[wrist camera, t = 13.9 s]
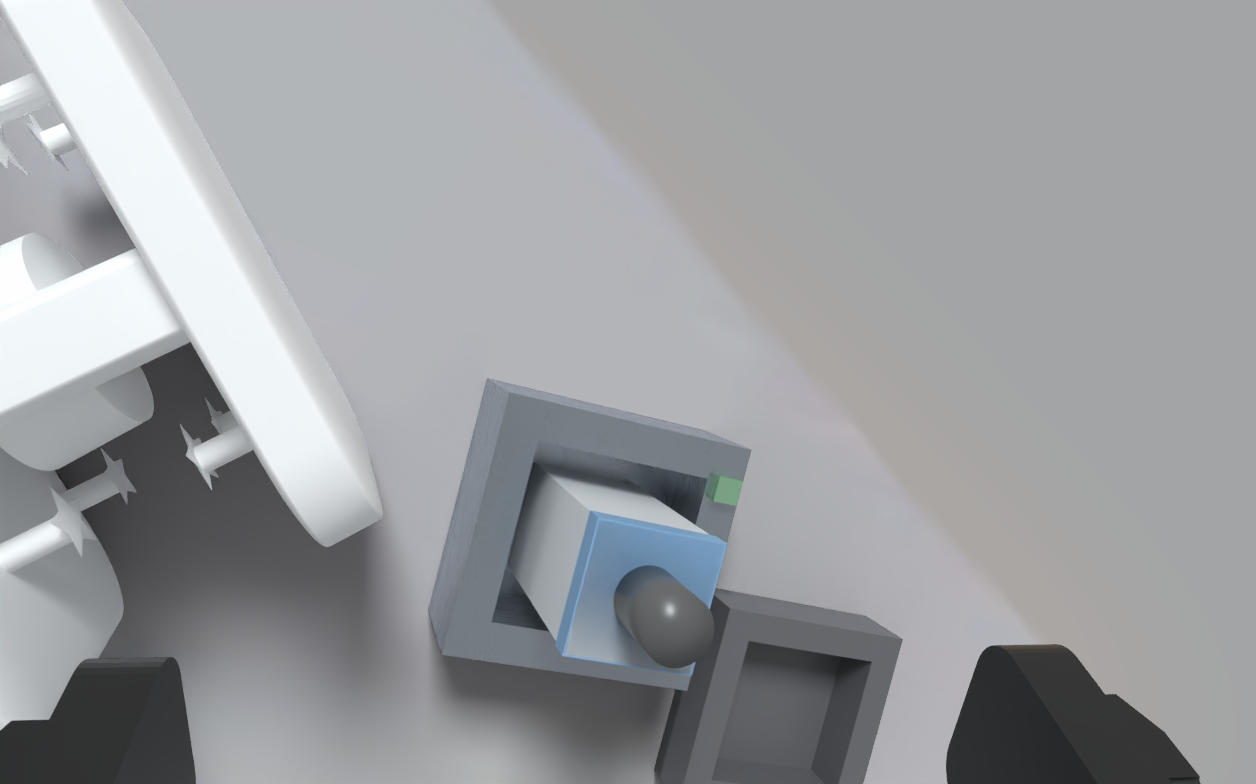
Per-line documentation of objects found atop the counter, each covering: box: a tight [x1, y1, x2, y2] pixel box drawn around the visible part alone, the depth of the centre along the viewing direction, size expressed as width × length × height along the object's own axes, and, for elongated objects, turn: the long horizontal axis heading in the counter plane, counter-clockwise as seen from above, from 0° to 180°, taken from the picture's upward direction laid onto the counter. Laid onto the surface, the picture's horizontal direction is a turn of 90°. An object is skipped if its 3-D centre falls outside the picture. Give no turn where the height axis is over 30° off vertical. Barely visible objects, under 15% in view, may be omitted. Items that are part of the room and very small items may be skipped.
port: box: [428, 379, 751, 691], centre depth 32 cm, size 8×8×4 cm
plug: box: [509, 463, 727, 676], centre depth 28 cm, size 4×4×10 cm
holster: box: [654, 588, 903, 784], centre depth 36 cm, size 7×7×2 cm
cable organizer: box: [0, 0, 383, 730], centre depth 23 cm, size 15×11×12 cm
